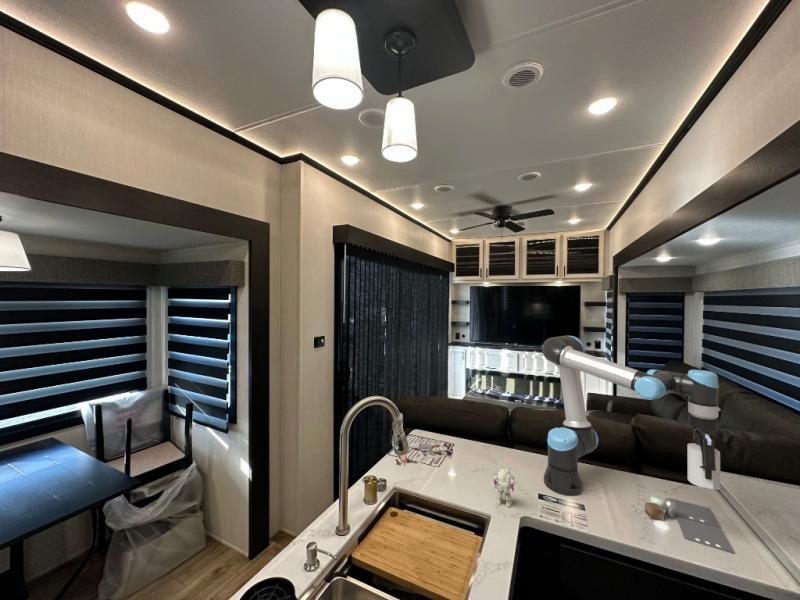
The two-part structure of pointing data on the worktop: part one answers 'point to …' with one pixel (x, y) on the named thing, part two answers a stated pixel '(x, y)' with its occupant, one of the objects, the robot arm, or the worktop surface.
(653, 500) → the pale green domed piece
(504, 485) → the figurine
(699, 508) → the pad two
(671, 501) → the metal peg
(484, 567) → the worktop surface
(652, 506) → the walnut block
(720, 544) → the pad three
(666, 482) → the worktop surface
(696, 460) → the white cylinder
